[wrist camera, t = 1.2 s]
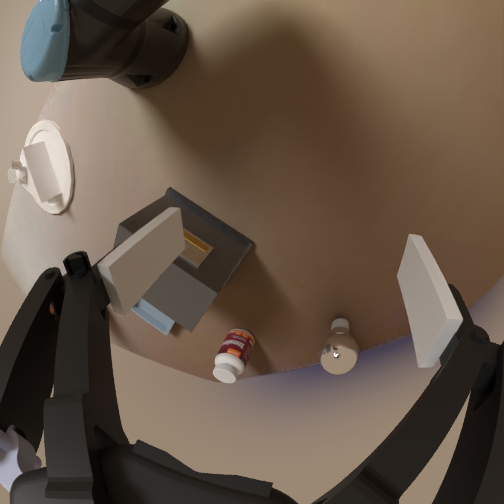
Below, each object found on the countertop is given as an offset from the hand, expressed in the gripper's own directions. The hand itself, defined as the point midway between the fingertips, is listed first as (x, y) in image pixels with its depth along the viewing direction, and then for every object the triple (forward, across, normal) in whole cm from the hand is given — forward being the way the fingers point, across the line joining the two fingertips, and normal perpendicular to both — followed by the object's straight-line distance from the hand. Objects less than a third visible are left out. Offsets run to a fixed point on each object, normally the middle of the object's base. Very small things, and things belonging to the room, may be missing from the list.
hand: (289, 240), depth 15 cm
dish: (+27, -62, 0) cm, 68 cm away
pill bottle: (+25, -11, -38) cm, 47 cm away
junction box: (+25, -19, -15) cm, 35 cm away
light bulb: (+25, +8, -28) cm, 39 cm away
